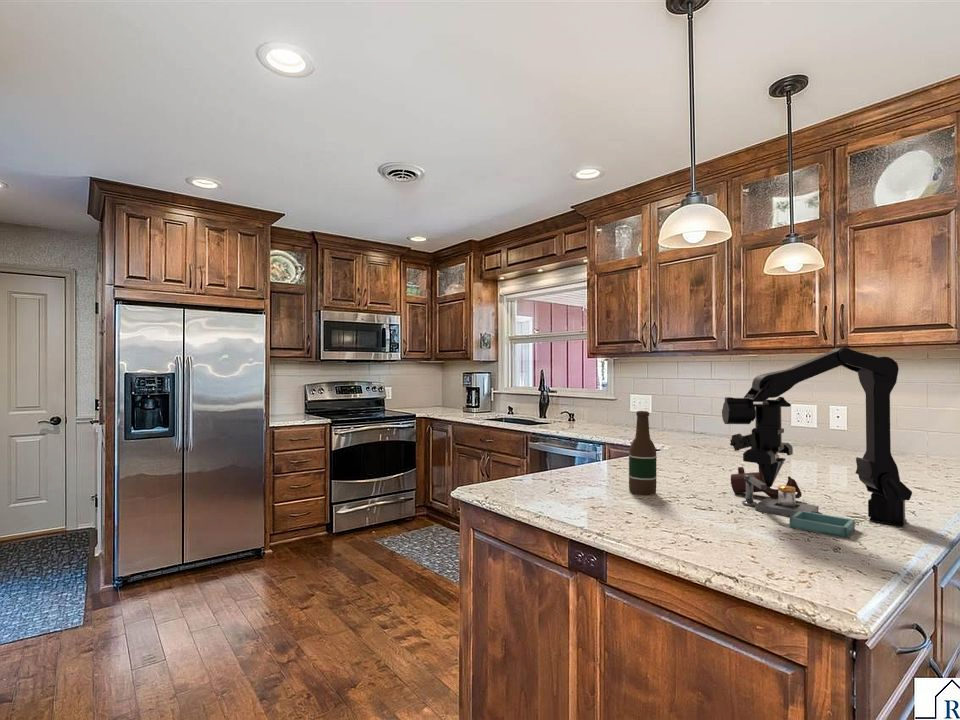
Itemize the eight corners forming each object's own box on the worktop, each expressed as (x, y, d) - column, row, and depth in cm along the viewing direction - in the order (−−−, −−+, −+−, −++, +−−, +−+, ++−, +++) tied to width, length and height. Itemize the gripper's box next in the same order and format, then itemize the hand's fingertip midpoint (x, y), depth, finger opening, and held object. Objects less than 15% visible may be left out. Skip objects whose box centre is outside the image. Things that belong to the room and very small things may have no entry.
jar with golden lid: (797, 511, 136) (797, 487, 136) (793, 514, 133) (793, 489, 134) (780, 508, 139) (780, 484, 139) (776, 511, 136) (776, 487, 136)
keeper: (742, 478, 144) (742, 474, 144) (753, 479, 144) (753, 474, 144) (758, 489, 131) (758, 484, 131) (769, 489, 131) (769, 485, 131)
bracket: (799, 495, 142) (793, 458, 146) (732, 498, 152) (728, 464, 157) (804, 499, 146) (797, 464, 151) (738, 502, 156) (734, 469, 161)
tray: (854, 529, 121) (854, 519, 121) (846, 538, 114) (846, 528, 114) (799, 519, 128) (799, 510, 128) (789, 527, 122) (789, 517, 122)
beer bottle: (623, 490, 157) (623, 410, 158) (643, 488, 161) (643, 409, 161) (641, 496, 150) (641, 412, 151) (662, 494, 154) (662, 411, 154)
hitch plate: (818, 511, 135) (818, 486, 136) (808, 519, 128) (808, 493, 128) (748, 500, 147) (748, 477, 147) (735, 506, 140) (735, 482, 140)
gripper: (747, 418, 144) (747, 475, 144) (720, 425, 131) (721, 488, 131) (792, 421, 136) (793, 482, 136) (769, 429, 123) (770, 496, 123)
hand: (769, 486), depth 132 cm, fingers closed
